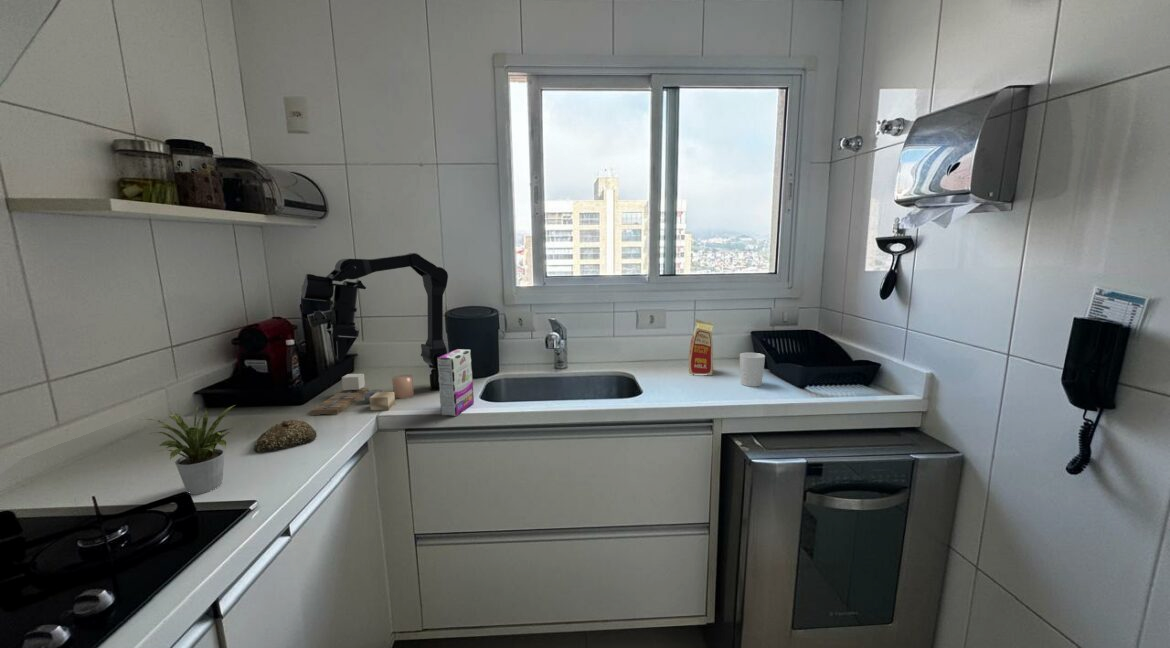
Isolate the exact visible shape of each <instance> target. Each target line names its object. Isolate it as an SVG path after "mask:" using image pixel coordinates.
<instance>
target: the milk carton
mask: <svg viewBox="0 0 1170 648" xmlns="http://www.w3.org/2000/svg"><path fill="white" fill-rule="evenodd" d="M715 325H716V322H710V321H709V322H708V321H705V320H701V319H697V318H695V327H694V329H693V333H692V336H691V340H690V345H689V346H690V347H689V352H688V373H689V374H707V375H712V376H713V374H714V343H713V333H712V332H713V328H714V326H715ZM712 373H713V374H712ZM689 374H688V375H689Z"/></svg>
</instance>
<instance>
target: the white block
mask: <svg viewBox="0 0 1170 648" xmlns="http://www.w3.org/2000/svg"><path fill="white" fill-rule="evenodd" d="M341 384H342V385H341V386H342V390H359V389H361V388H365V386H366V382H365V374H364V373H347V374H345V375H344V376H341Z"/></svg>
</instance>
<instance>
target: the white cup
mask: <svg viewBox="0 0 1170 648" xmlns="http://www.w3.org/2000/svg"><path fill="white" fill-rule="evenodd" d="M765 359H766V355H765V354H763V353H758V352H751V351H750V352H747V351H746V352H742V353H739V377H740V381H739V382H740V384H741V385H742V386H745V387H752V388H753V387H754V388H758V387H761V386H762V384H763V383H762V382H763V377H764V369H765V361H766V360H765ZM757 386H758V387H757Z"/></svg>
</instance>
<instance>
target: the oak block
mask: <svg viewBox="0 0 1170 648" xmlns="http://www.w3.org/2000/svg"><path fill="white" fill-rule="evenodd" d="M393 405H394V406H396V398H395V394H394V392H393V391H383V392H377V393H375V394H374V395H373V396H371V397H370V404H369V407H370V411H371V410H386V411H390V410H391V409H392V408H393V407H394V406H393ZM392 406H393V407H392ZM391 407H392V408H391ZM390 408H391V409H390ZM389 409H390V410H389Z"/></svg>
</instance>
